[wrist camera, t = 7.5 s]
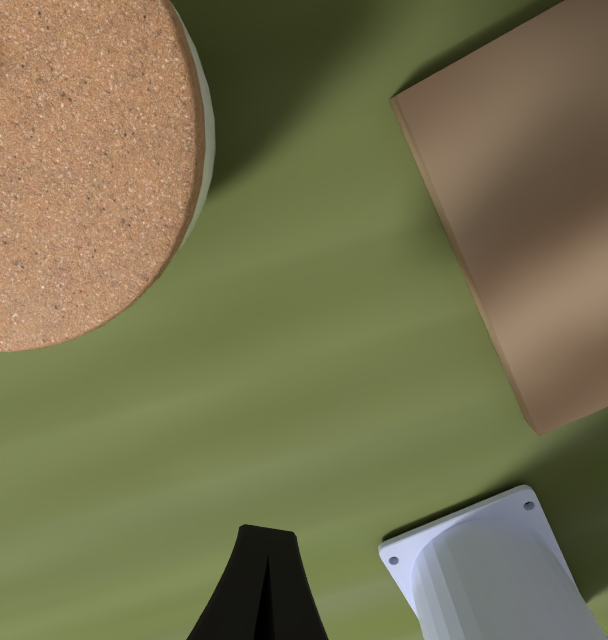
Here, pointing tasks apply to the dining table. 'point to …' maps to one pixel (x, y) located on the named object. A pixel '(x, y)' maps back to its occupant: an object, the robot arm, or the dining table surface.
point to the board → (528, 199)
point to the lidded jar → (94, 160)
